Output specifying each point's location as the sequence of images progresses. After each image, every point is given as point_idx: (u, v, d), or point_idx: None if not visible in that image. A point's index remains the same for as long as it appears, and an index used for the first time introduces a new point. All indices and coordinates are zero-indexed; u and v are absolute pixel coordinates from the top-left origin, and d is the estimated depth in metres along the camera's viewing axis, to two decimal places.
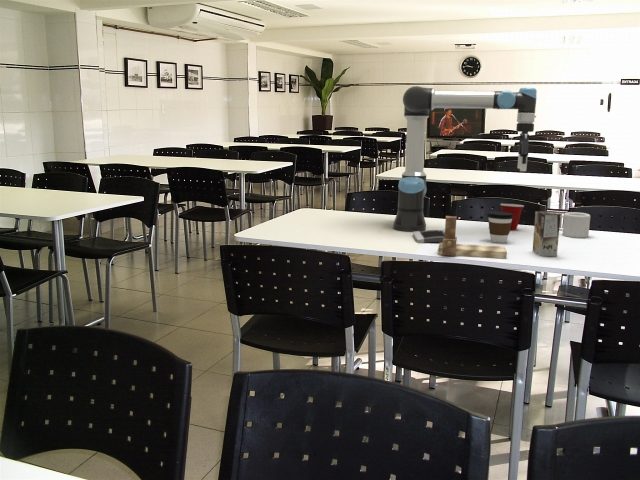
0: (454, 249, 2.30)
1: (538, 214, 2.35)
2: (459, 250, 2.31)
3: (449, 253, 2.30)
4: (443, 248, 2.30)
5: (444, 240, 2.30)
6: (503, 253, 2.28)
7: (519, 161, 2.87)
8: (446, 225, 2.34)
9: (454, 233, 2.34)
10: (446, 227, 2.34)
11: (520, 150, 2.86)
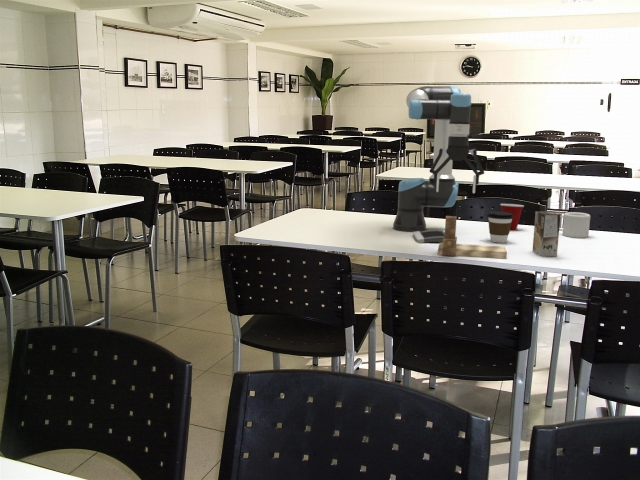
0: (454, 249, 2.30)
1: (538, 214, 2.35)
2: (459, 250, 2.31)
3: (449, 253, 2.30)
4: (443, 248, 2.30)
5: (444, 240, 2.30)
6: (503, 253, 2.28)
7: None
8: (446, 225, 2.34)
9: (454, 233, 2.34)
10: (446, 227, 2.34)
11: None
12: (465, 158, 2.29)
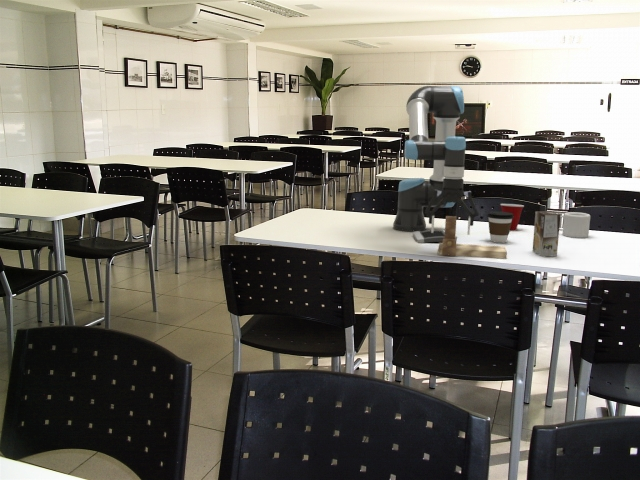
0: (454, 249, 2.30)
1: (538, 214, 2.35)
2: (459, 250, 2.31)
3: (449, 253, 2.30)
4: (443, 248, 2.30)
5: (444, 240, 2.30)
6: (503, 253, 2.28)
7: None
8: (446, 225, 2.34)
9: (454, 233, 2.34)
10: (446, 227, 2.34)
11: None
12: (459, 200, 2.31)
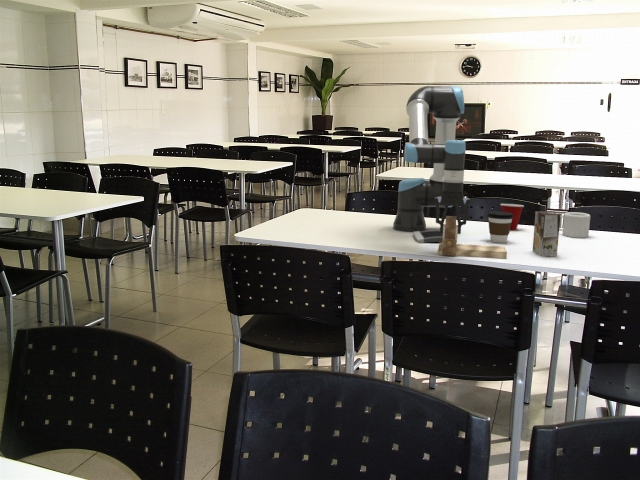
0: (454, 249, 2.30)
1: (538, 214, 2.35)
2: (459, 250, 2.31)
3: (449, 253, 2.30)
4: (443, 248, 2.30)
5: (444, 240, 2.30)
6: (503, 253, 2.28)
7: None
8: (446, 225, 2.34)
9: (454, 233, 2.34)
10: (446, 227, 2.34)
11: None
12: (456, 205, 2.32)
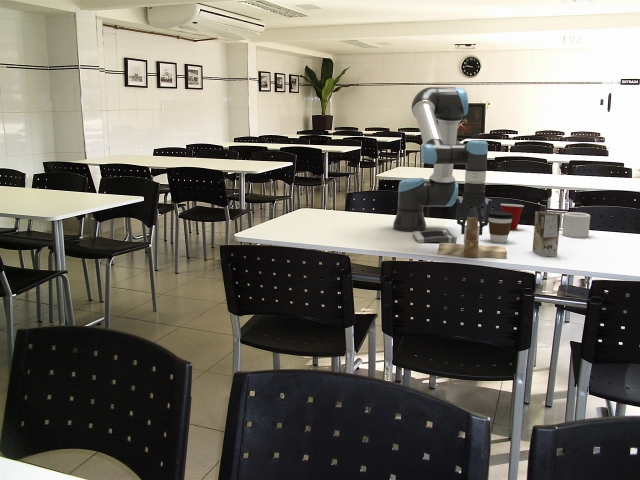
0: (476, 250, 2.28)
1: (538, 214, 2.35)
2: (459, 250, 2.31)
3: (471, 254, 2.29)
4: (465, 249, 2.29)
5: (466, 241, 2.28)
6: (503, 253, 2.28)
7: None
8: (467, 226, 2.32)
9: (476, 234, 2.32)
10: (467, 228, 2.32)
11: None
12: (478, 206, 2.30)
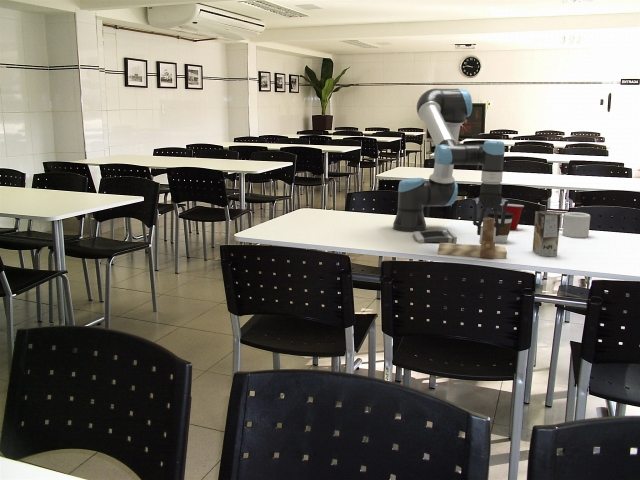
0: (493, 251, 2.27)
1: (538, 214, 2.35)
2: (459, 250, 2.31)
3: (487, 255, 2.27)
4: (481, 250, 2.27)
5: (482, 242, 2.27)
6: (503, 253, 2.28)
7: None
8: (483, 227, 2.31)
9: (492, 235, 2.31)
10: (484, 229, 2.31)
11: None
12: (494, 207, 2.29)
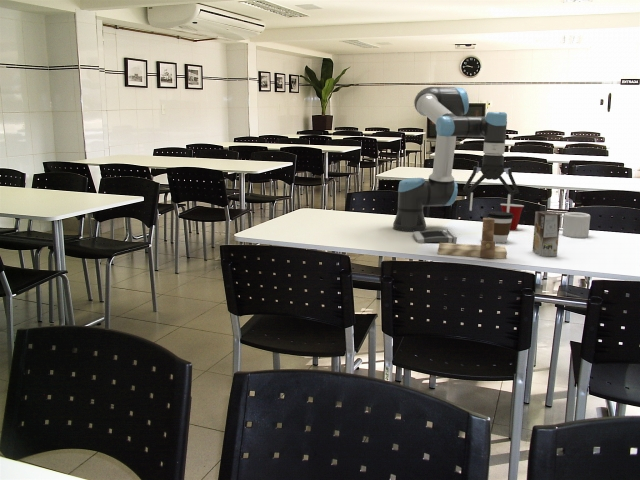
0: (493, 251, 2.27)
1: (538, 214, 2.35)
2: (459, 250, 2.31)
3: (487, 255, 2.27)
4: (481, 250, 2.27)
5: (482, 242, 2.27)
6: (503, 253, 2.28)
7: (507, 202, 2.30)
8: (483, 227, 2.31)
9: (492, 235, 2.31)
10: (484, 229, 2.31)
11: None
12: (500, 177, 2.26)
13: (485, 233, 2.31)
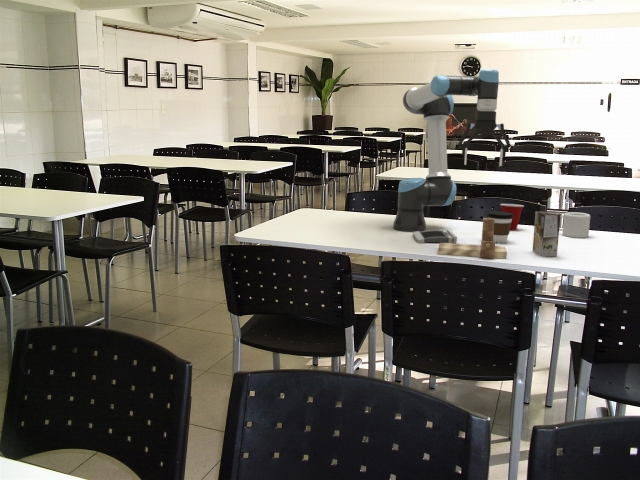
0: (493, 251, 2.27)
1: (538, 214, 2.35)
2: (459, 250, 2.31)
3: (487, 255, 2.27)
4: (481, 250, 2.27)
5: (482, 242, 2.27)
6: (503, 253, 2.28)
7: None
8: (483, 227, 2.31)
9: (492, 235, 2.31)
10: (484, 229, 2.31)
11: None
12: (492, 132, 2.39)
13: (485, 233, 2.31)
